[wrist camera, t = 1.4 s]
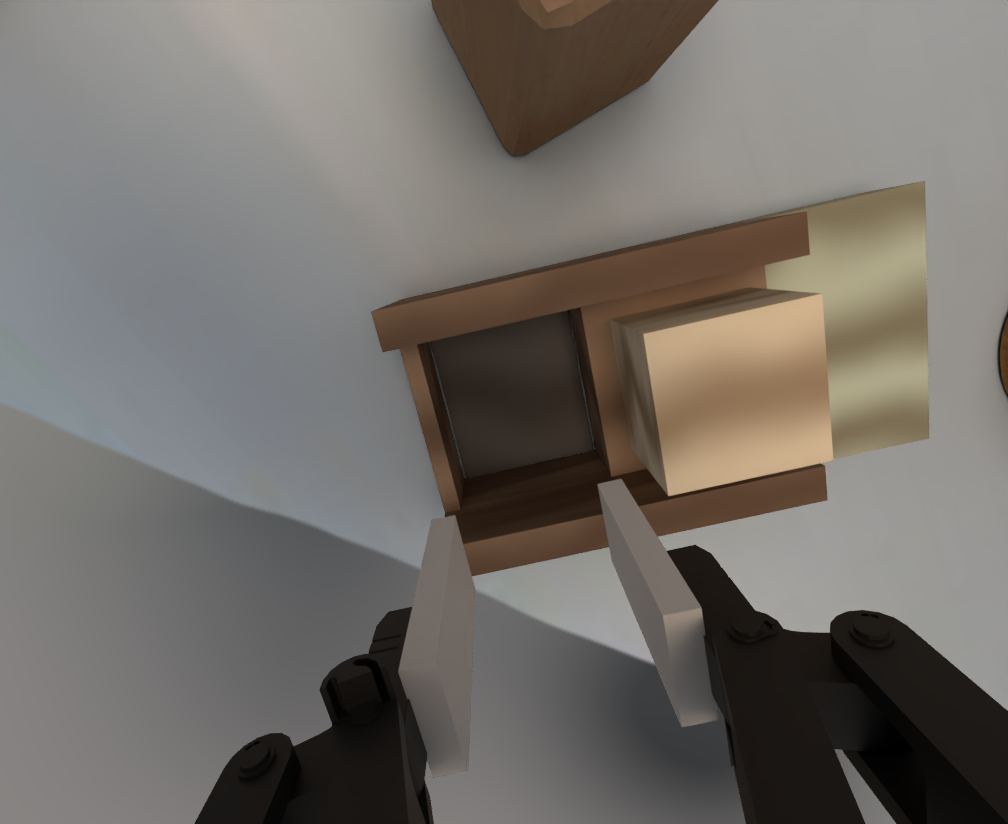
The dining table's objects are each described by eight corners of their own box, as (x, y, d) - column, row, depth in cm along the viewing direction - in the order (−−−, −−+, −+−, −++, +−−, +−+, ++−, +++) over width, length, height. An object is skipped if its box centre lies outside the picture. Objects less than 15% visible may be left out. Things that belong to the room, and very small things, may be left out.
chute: (401, 299, 35) (371, 311, 26) (863, 192, 34) (1000, 166, 25) (457, 507, 39) (447, 581, 30) (873, 416, 38) (995, 464, 29)
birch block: (609, 318, 31) (643, 334, 24) (748, 287, 31) (822, 293, 24) (631, 448, 33) (668, 496, 26) (762, 420, 33) (833, 460, 26)
